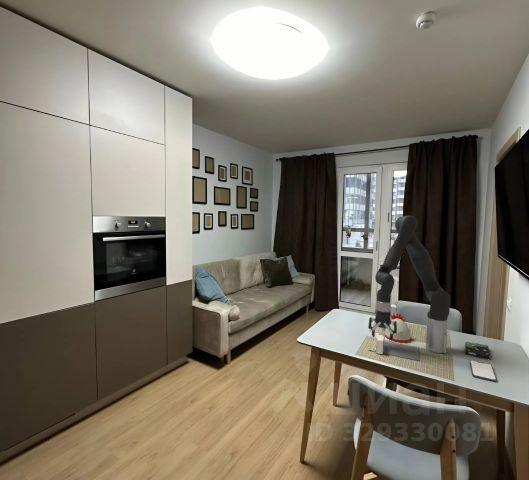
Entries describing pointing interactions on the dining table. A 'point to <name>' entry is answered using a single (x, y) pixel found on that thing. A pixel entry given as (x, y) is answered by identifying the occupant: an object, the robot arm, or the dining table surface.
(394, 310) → the skincare box
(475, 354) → the disk drive
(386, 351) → the mat
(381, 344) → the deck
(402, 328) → the kitchen timer
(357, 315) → the dining table surface
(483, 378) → the phone case
